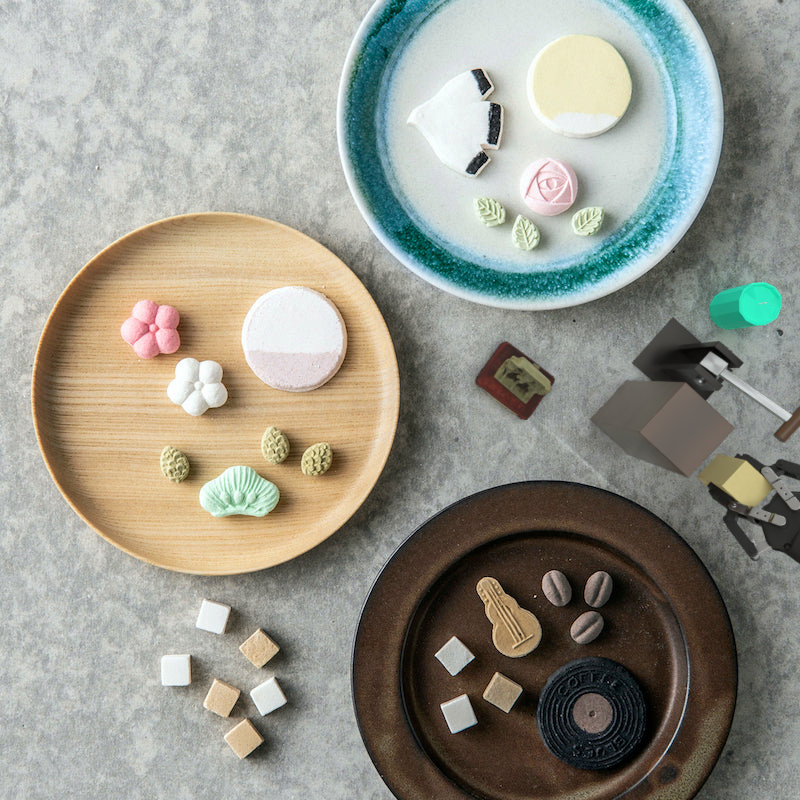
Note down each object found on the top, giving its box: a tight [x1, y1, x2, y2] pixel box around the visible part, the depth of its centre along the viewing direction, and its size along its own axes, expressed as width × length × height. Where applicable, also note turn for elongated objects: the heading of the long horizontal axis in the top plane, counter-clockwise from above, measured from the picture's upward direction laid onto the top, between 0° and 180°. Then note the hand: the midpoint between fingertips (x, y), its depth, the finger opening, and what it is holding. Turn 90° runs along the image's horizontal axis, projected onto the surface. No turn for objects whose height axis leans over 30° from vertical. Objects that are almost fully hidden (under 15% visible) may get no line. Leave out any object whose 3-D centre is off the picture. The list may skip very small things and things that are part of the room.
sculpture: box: [474, 341, 556, 421], centre depth 101 cm, size 10×8×15 cm
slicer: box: [631, 317, 745, 402], centre depth 101 cm, size 12×9×14 cm
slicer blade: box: [700, 351, 800, 444], centre depth 93 cm, size 14×6×2 cm, turn 48°
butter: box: [696, 453, 773, 508], centre depth 94 cm, size 5×4×8 cm
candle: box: [709, 281, 783, 331], centre depth 101 cm, size 6×6×12 cm
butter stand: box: [590, 379, 736, 478], centre depth 96 cm, size 8×8×24 cm
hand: (723, 472), depth 94 cm, fingers closed on butter, 4 cm apart
